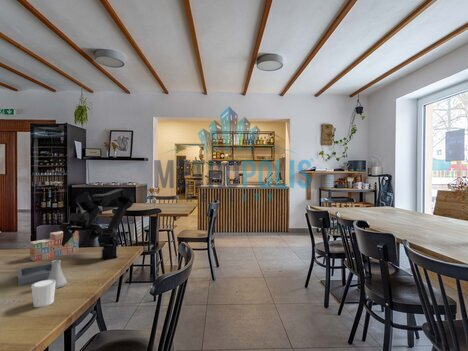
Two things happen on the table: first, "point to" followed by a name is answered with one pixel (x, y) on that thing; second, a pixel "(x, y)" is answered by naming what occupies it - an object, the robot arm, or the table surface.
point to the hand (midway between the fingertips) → (71, 246)
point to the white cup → (43, 292)
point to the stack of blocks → (53, 246)
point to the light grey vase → (57, 274)
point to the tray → (34, 274)
